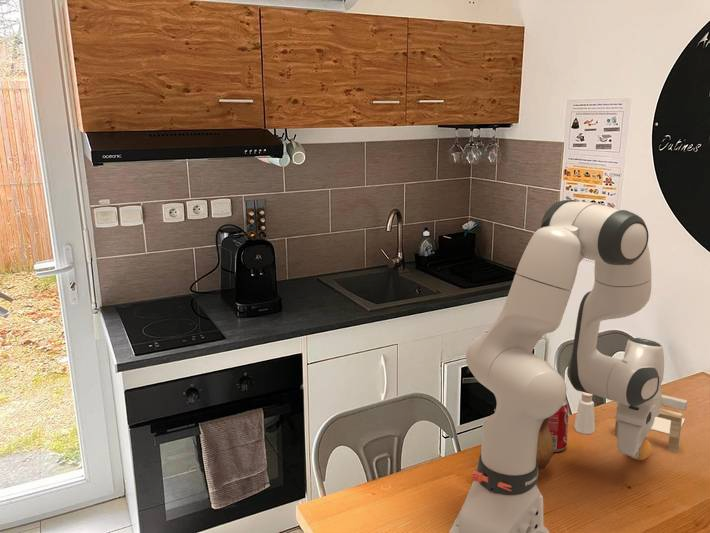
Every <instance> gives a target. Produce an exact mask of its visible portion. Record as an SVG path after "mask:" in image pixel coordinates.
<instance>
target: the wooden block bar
mask: <svg viewBox="0 0 710 533" xmlns="http://www.w3.org/2000/svg"><path fill="white" fill-rule="evenodd" d="M687 404H688V400H687V399H682V398H680V397H679V398H678V397H674V396H670V395H666V394H662V396H661V406H665V407H668V408H673V409H676V410H681V411H686V409H687Z"/></svg>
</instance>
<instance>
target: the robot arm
mask: <svg viewBox="0 0 710 533" xmlns="http://www.w3.org/2000/svg"><path fill="white" fill-rule="evenodd" d="M540 223H541V224H540V228H538V229H537V230H536V231H535V232H534V233H533V235H532V236H531V237H530V240H529V241H528V243H527V245H526V248H525V249H524V251H523V253H522V256H521V258H520V261H519V263H518V265H517V268H516V271H515V274H514V276H513V280H512V282H511V286H510V289H509V292H508V294H507V297H506V300H505V303H504V305H503V307H502V309H501V312H500V314H499V315H498V317H497V319H496V320H495V321H494V323H493V324H492V326H491V327H490V328H489V329H488V331H486V332H485V333H484V334H481V335H480V336H477V337H476V338H475V339H474V340H473V341H472V342H471V343H470V345H469V346H468V347H467V350H466V354H465V362H466V365H467V368H468V369H469V371H470V372H471V374H472V375H473V377H475V380H476V381H478V383H479V384H481V385H483V387H485V388H486V389H487V390H489V391H490V392H491V393H493V395H494V397H495V400H496V407H495V411H494V413H493V414H491V415H490V416H489V415H488V417H486V419H485V420H484V421H483V423H482V429H481V452H480V455H479V457H478V461H477V463H476V464H477V466H476V470H473V471H472V473H471V476H470V478H471V480H472V484H471V486H470V488H469V491H468V493H467V496H466V498H465V500H464V502H463V504H462V505H461V508H460V510H459V512H458V514H457V516H456V518H455V520H454V522H453V524H452V526H451V527H450V530H448V533H550V531H549V529H548V528H547V527H546V526H545V525H544V497H543V494H542V493H541V492H540V489H539V488H538V485H537V483H538V479H539V478H538V476H539V472H538V463H537V461H536V455H537V443H538V434H539V430H540V427H541V425H542V422H543V421H544V419H545V418H548V417H550V416H552V415H554V414H555V413H556V412H557V411H558V410H559V409H560V408H561V407H562V405H563V403H564V401H565V399H566V397H567V385H566V382H565V380H564V377H562V375H561V374H560V373H559V372H558V371H557V369H555V368H554V367H553V366H552V365H551V364H550V363H549V362H547V361H546V360H544V359H543V358H541V357H539V356H537V355H536V354H534V353H533V351H534V349H535V347H536V346H537V344H538V342H539V340H540V339H542V338H543V337H544V336H545V335H547V334H551V333H554V332H555V331H556V330H557V329H558V328H560V325H561V323H562V320H563V318H564V314H565V312H566V308H567V306H568V303H569V300H570V297H571V294H572V290H573V288H574V284H575V281H576V277H577V275H578V274H577V273H578V269H579V265H580V263H581V262H582V261H583V260H584V259H586V260H591V261H594V271H593V272H594V282H593V287H592V289H591V290H590V291H587V292H586V293H585V294H584V295H583V297H582V299H581V302H580V303H579V307H578V312H577V318H576V324H575V331H574V339H573V343H572V345H573V346H572V351H571V355H570V359H569V362H568V365H567V370H566V374H567V378H568V380H569V382H570V384H571V386H572V387H573V389H574V390H576V391H578V392H580V393H582V392H585V393H589V394H593V396H597V397H600V398H603V399H606V400H608V401H612V402H613V401H614V402H616V403H617V402H618V403H619V406H618V409H617V408H616V413H615V420H616V419H617V420H619V422H618V434H617V436H616V438H617V442H616V443H617V450H618V453H620V454H622V455H625V456H629V457H630V458H632V459H634V458H635V459H634V460H636V459H637V458H638V456H639V454H640V453H641V446H642V443H643V441H644V439H645V438H646V437H647V436H648V434H649V432H650V430H651V427H652V426H653V424H654V419H655V417H657V416H658V415H659V414H660V408H661V406H662V405H661V396H662V395H663V394H662V389H661V385H662V382H663V381H664V375H665V374H664V373H665V351H664V347H663V345H661V344H660V342H657V341H654V340H652V339H651V340H650V339H646V338H641V337H632V338H628V340H627V342H626V346H625V350H624V354H623V358H622V359H620V358H615V357H614V356H609V355H605V354H603V353H601V352H600V351H599V350H598V349H597V344H598V343H597V342H598V336H599V331H600V326H601V322H603V321H607V320H615V319H623V318H626V317H629V316H631V315H632V316H633V315H634V314H636V313H638V312H640V311H641V310H642V309H643V308H644V307H646V305H647V304H648V302H649V301H650V298H651V295H652V294H651V293H652V263H651V262H652V261H651V260H652V259H651V255H650V253H651V252H650V249H649V245H648V244H649V237H650V236H649V235H650V234H649V231H648V227H647V224H646V222H645V220H644V219H643V218H642V217H641V216H640V215H638V214H637V213H634V212H632V211H629V210H625V209H617V208H615V207H610V206H608V205H603V203H602V204H601V203H597V202H590V201H578V200H574V199H565V200H560V201H559V200H558V201H556V202H554V203H553V204H552V205H550V207H549V208H548V209H547V210H546V211H545V213H544V215H543V217H542V219H541V222H540ZM646 439H647V438H646Z"/></svg>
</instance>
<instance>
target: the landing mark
mask: <svg viewBox="0 0 710 533" xmlns="http://www.w3.org/2000/svg"><path fill="white" fill-rule="evenodd" d="M685 421H686V418H684V417H682V423H681V428H682V426H683V425H684V422H685ZM670 425H671V420H668V419H664V418H660V417H655V419H654V424H653V426H652V427H651V429H650V430H652V431H657V432H659V433H662V434H666V435H669V434H670Z"/></svg>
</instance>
